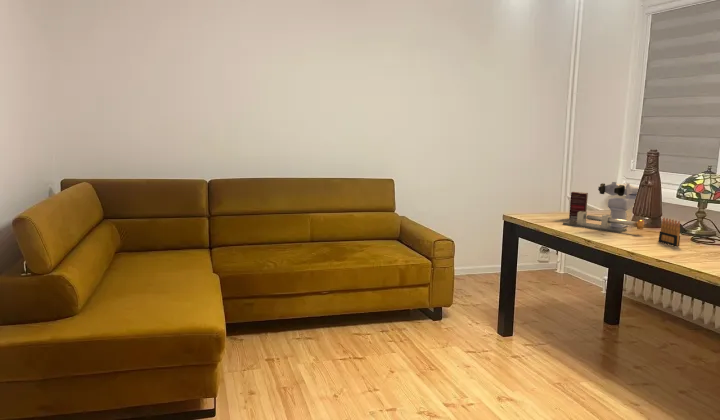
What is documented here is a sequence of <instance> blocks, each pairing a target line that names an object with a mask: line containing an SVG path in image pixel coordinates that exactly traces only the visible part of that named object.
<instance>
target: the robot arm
mask: <svg viewBox="0 0 720 420" xmlns="http://www.w3.org/2000/svg"><path fill="white" fill-rule="evenodd" d="M639 187H640V186H634V185H631V184H630V183H628V182H626V183H623V184H622V183H617V182H616V181H612V182H611V183H610V184H605V183H604V182H603V183H600V186H598V188H597V190H598V192H599V195H600V194H601V195H605V194H608V195H610V197H609V198H608V200H607V207H608V208H609V210H610V214H609V215H611V218H613V219H620V220H627V217H628V215H627V214H628V213H627V211H628V210H629V209H630V208H635V207H634V203H635V198H636V195H637V192H638V189H639ZM613 196H619V197H613ZM623 196H625V198H620V197H623ZM611 226H612V227H618V228H626V227H628V226H629V225H622V224H615V223H611Z"/></svg>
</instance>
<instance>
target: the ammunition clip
mask: <svg viewBox="0 0 720 420" xmlns="http://www.w3.org/2000/svg"><path fill="white" fill-rule="evenodd" d="M660 226H661V227H660V231H659V236H658V243H661V242H662V243H661V244H665V243H666V245H668V244H669V245H668V246H672V245H673V246H672V247H675V246H679V247H680V242H681V235H680V232H681V222H680V220H678V221H677V219H675V220H674V219H671V218H669V219H668V217H666V218H665V217H663V218H662V221H661V225H660Z"/></svg>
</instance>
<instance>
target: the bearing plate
mask: <svg viewBox="0 0 720 420" xmlns="http://www.w3.org/2000/svg"><path fill="white" fill-rule="evenodd" d="M587 215H588V212H587V211H586V212H585V211H580V212H578V215H577V220H568V221H564V222H562V225H566V226H569V227H570V226H572V227H577V228H578V227H579V228H584V229H591V230H597V231H603V232H610V233H615V234H621V233H624V232H627V230H628V229H627V228H626V227H623V228H618V227H612V226H611V223H608V218H611V215H610V214H606V213H605V214H602V215H601V217H602V221H600V222H601V223H600V224H597V223H589V222H587Z"/></svg>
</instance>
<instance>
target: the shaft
mask: <svg viewBox="0 0 720 420" xmlns="http://www.w3.org/2000/svg"><path fill="white" fill-rule="evenodd" d="M586 220H589V221H595V222H602V216H596V215H589V214H587V217H586ZM608 223H615V224H622V225H628V226H631V227H636V229H637V230H639V231H640V230H641V231H643V230H644V228H645V220H644V219H638V220H637V221H632V220H627V219H626V220H620V219H613V218H608Z"/></svg>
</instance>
